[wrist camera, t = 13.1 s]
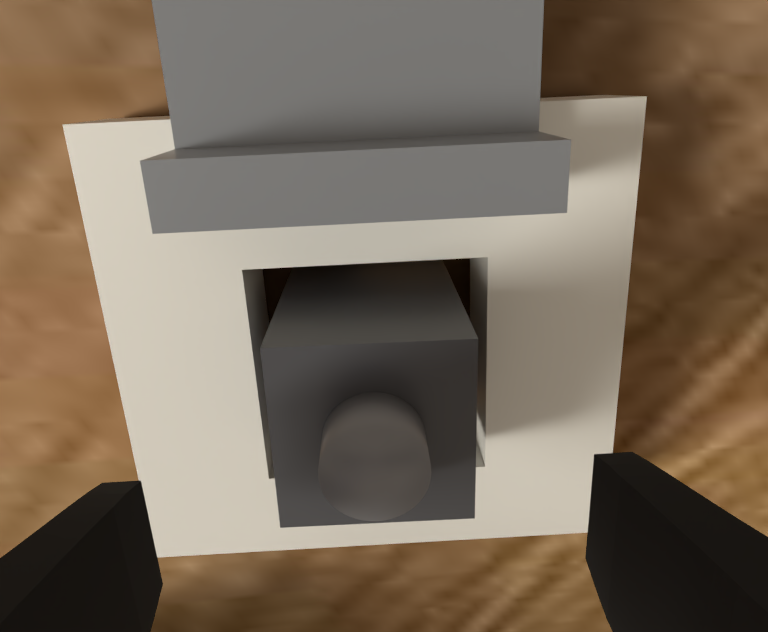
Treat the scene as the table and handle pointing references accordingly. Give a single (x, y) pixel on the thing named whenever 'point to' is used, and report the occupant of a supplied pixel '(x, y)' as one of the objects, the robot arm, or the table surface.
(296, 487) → the plug
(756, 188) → the table surface
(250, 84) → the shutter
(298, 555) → the table surface
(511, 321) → the socket plate
